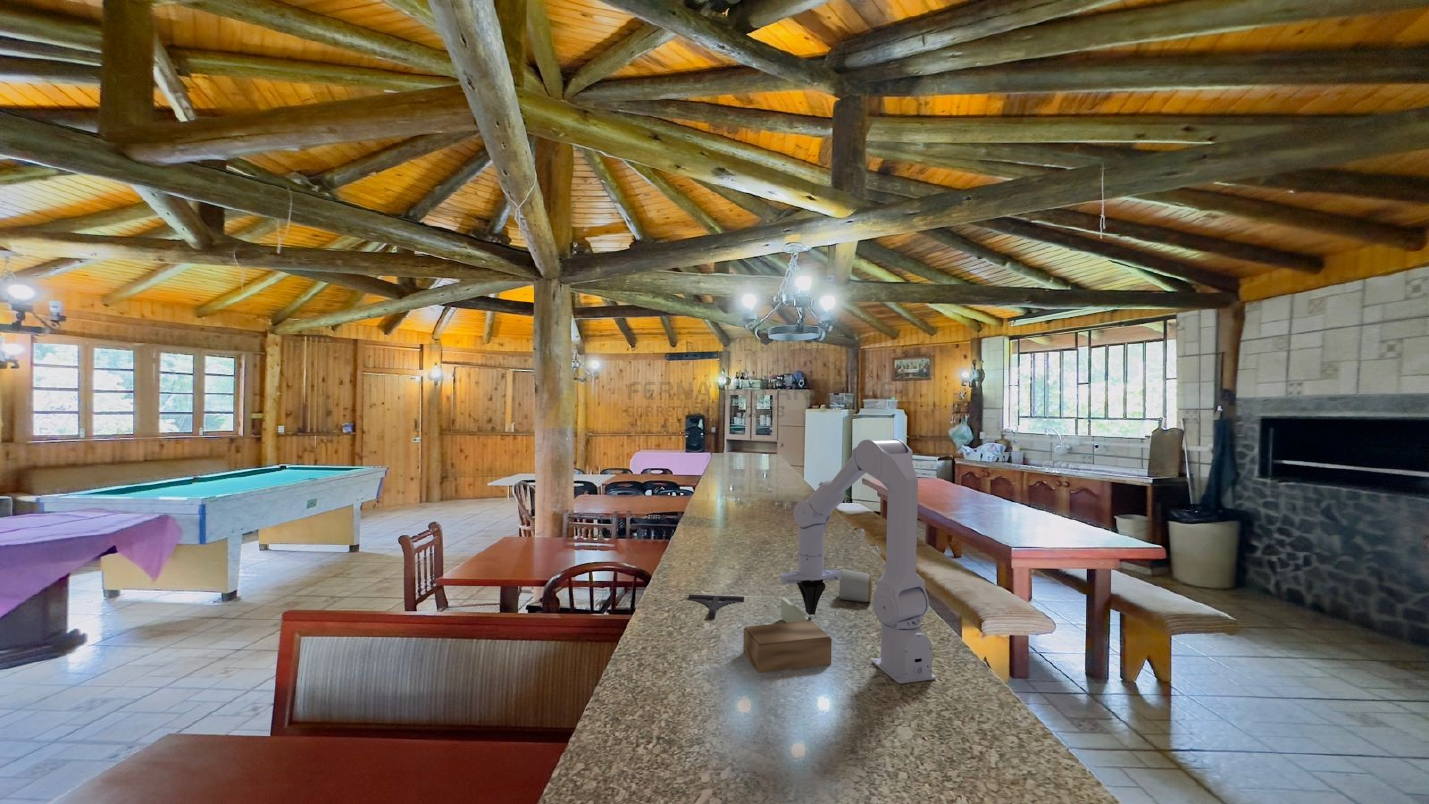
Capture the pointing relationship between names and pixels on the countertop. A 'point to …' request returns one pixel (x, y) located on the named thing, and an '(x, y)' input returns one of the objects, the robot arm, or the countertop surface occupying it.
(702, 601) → the bracket
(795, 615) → the door
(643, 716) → the countertop surface
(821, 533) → the robot arm
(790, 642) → the cabinet
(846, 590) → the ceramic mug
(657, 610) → the countertop surface
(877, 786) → the countertop surface
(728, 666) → the countertop surface
